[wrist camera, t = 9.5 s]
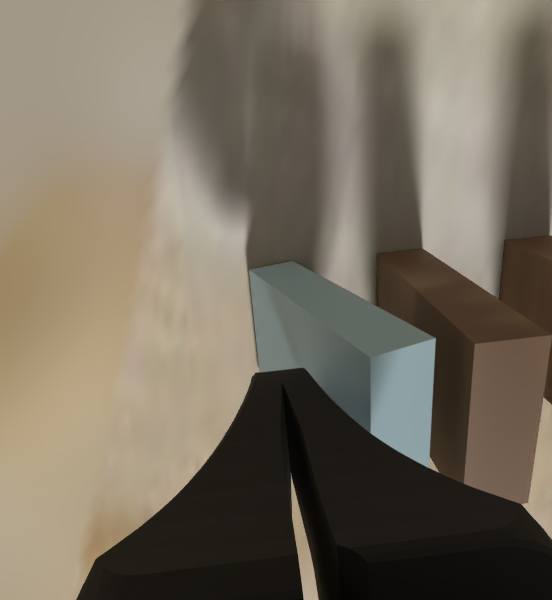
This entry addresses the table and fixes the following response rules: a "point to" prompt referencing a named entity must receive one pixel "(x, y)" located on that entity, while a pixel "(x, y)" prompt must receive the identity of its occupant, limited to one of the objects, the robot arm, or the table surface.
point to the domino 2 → (530, 285)
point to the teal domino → (348, 353)
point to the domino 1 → (473, 372)
